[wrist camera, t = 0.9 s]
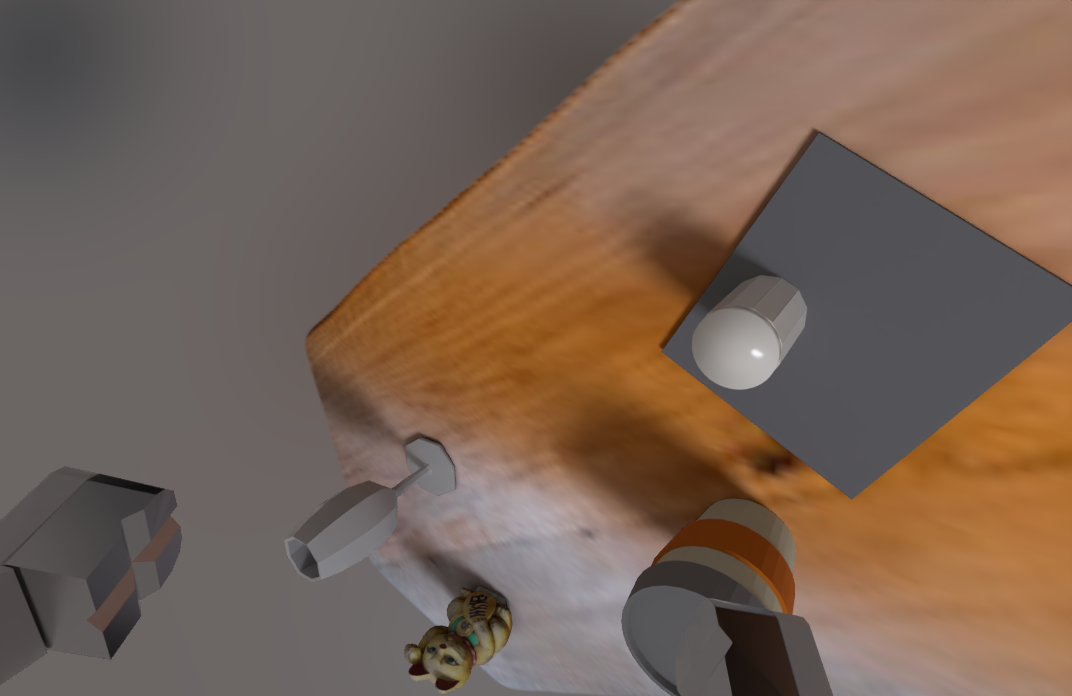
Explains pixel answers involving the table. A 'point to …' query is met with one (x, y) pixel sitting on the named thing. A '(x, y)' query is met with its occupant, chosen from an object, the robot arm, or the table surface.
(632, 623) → the reusable coffee cup
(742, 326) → the cream tumbler
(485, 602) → the decorative figurine
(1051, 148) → the table surface
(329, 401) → the table surface
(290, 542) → the wineglass
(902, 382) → the charcoal mat
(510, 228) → the table surface
